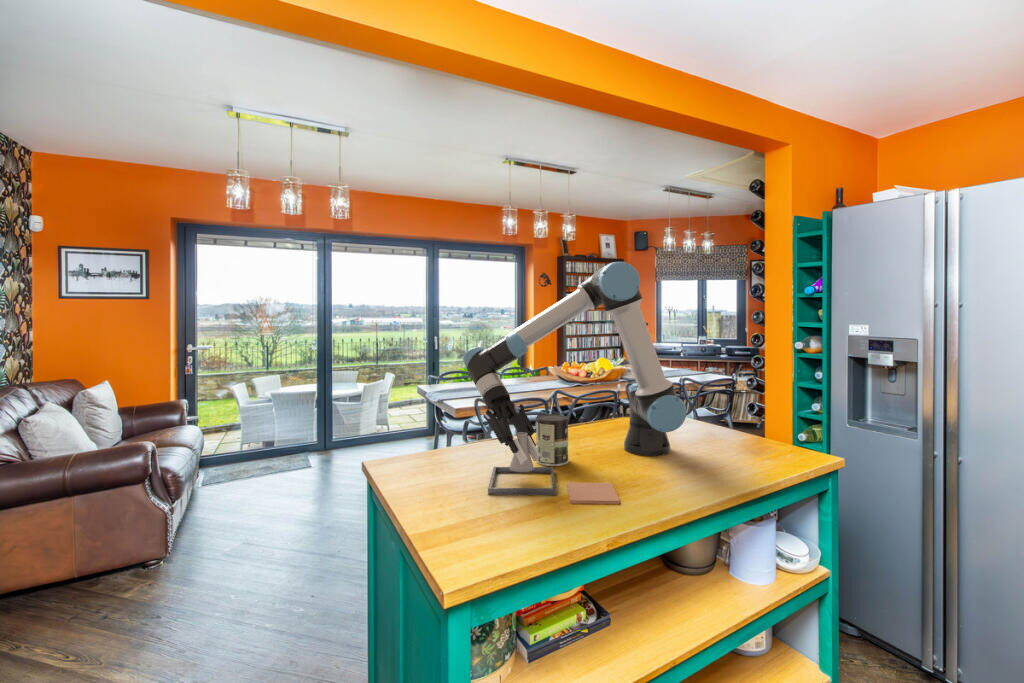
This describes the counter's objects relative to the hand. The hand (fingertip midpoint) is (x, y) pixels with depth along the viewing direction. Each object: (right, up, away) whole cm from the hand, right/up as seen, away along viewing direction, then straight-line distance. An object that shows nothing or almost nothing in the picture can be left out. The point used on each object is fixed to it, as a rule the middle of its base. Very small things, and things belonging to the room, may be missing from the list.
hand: (530, 460), depth 123 cm
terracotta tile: (+16, -7, -5) cm, 18 cm away
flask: (-2, -3, +3) cm, 5 cm away
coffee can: (+8, -6, +22) cm, 24 cm away
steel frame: (-2, -7, +3) cm, 8 cm away
